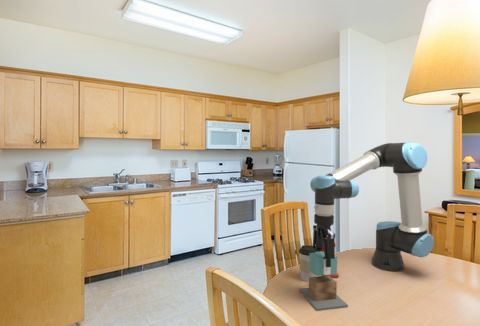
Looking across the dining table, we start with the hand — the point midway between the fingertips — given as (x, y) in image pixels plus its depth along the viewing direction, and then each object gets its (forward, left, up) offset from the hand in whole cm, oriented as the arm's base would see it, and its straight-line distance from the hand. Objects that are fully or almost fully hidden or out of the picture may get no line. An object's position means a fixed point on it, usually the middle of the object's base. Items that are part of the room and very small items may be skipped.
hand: (322, 270), depth 116 cm
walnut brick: (0, 0, -11) cm, 11 cm away
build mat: (0, 0, -11) cm, 11 cm away
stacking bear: (-15, -22, -12) cm, 29 cm away
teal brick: (0, 0, 0) cm, 0 cm away
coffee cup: (-3, -18, -12) cm, 22 cm away
